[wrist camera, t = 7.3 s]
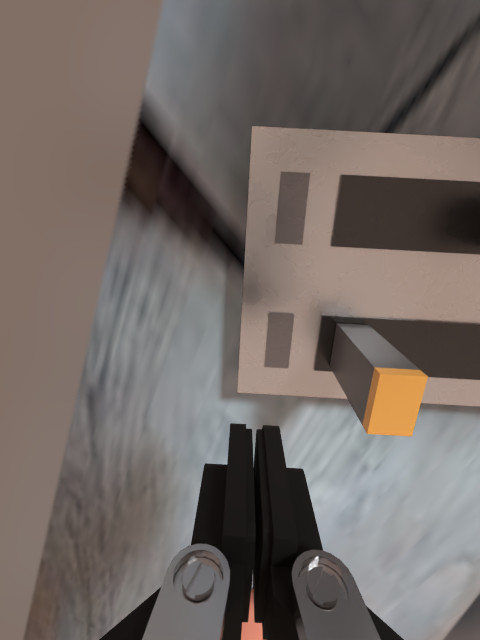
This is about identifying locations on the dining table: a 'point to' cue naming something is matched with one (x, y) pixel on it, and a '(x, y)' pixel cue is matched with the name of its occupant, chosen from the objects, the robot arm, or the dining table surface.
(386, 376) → the block
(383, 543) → the dining table surface
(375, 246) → the panel
